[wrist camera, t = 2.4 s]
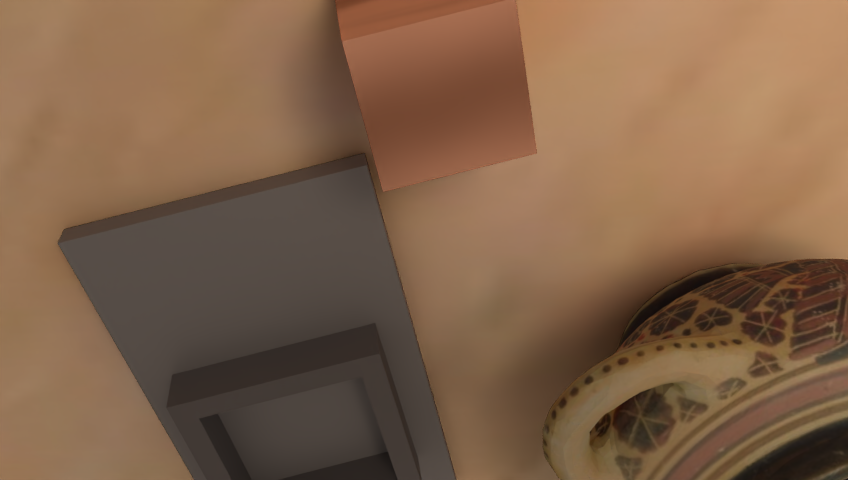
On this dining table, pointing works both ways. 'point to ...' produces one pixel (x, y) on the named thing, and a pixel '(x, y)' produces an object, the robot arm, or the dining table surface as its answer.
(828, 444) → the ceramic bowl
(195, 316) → the base board
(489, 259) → the dining table surface
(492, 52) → the terracotta block
